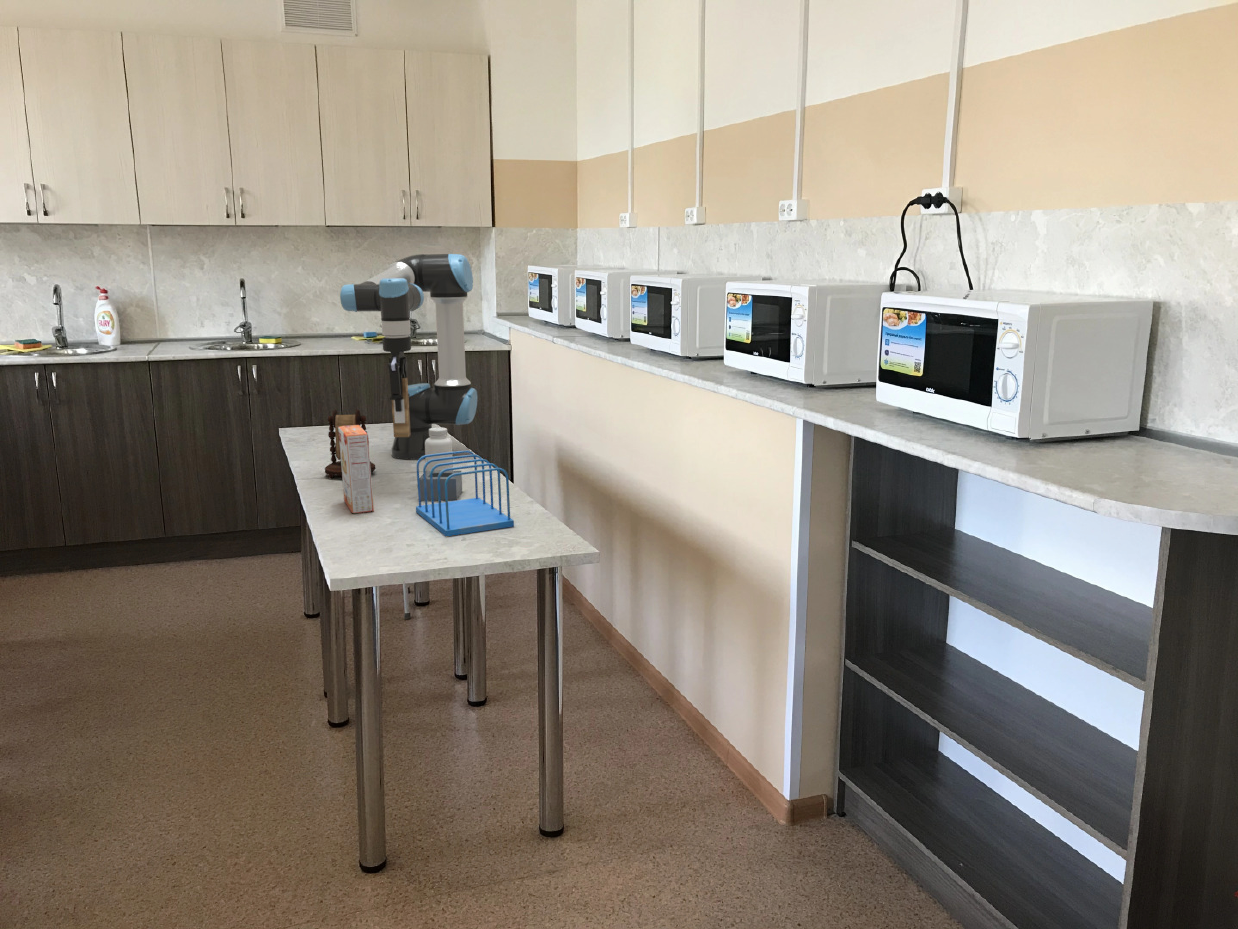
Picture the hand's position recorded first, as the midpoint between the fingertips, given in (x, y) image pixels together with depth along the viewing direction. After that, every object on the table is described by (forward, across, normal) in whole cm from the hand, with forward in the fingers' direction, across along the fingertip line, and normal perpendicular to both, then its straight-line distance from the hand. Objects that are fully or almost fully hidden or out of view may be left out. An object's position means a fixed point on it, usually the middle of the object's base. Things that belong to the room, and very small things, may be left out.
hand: (401, 421), depth 272 cm
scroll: (+20, -22, -21) cm, 36 cm away
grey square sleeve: (+20, +5, +11) cm, 23 cm away
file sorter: (+20, +29, +21) cm, 41 cm away
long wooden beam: (+4, 0, 0) cm, 4 cm away
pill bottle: (+20, -16, +7) cm, 27 cm away
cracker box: (+20, +16, -9) cm, 27 cm away
